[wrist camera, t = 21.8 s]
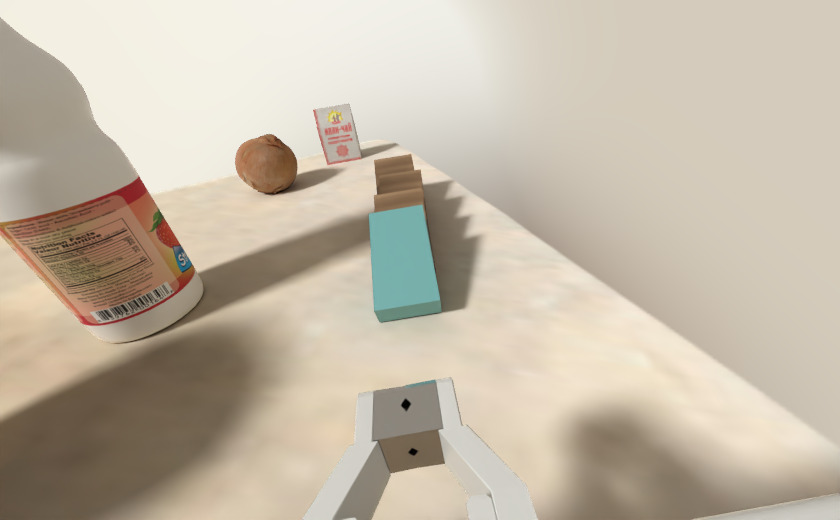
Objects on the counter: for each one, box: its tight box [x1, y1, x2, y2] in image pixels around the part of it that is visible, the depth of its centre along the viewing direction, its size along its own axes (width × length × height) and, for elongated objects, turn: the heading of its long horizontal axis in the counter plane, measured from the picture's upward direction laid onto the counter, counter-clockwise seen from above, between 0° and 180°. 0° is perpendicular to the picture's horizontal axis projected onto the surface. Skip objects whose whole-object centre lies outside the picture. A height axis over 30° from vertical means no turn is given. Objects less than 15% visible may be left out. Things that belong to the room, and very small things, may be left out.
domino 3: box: [374, 188, 436, 274], centre depth 34 cm, size 2×5×10 cm
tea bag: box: [313, 104, 361, 165], centre depth 67 cm, size 4×7×10 cm, turn 98°
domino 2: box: [379, 170, 429, 230], centre depth 39 cm, size 2×5×10 cm
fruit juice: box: [0, 18, 204, 343], centre depth 26 cm, size 9×9×28 cm
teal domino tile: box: [369, 205, 442, 322], centre depth 29 cm, size 2×5×10 cm
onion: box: [235, 134, 297, 194], centre depth 57 cm, size 10×9×10 cm
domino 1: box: [374, 154, 414, 195], centre depth 44 cm, size 2×5×10 cm
